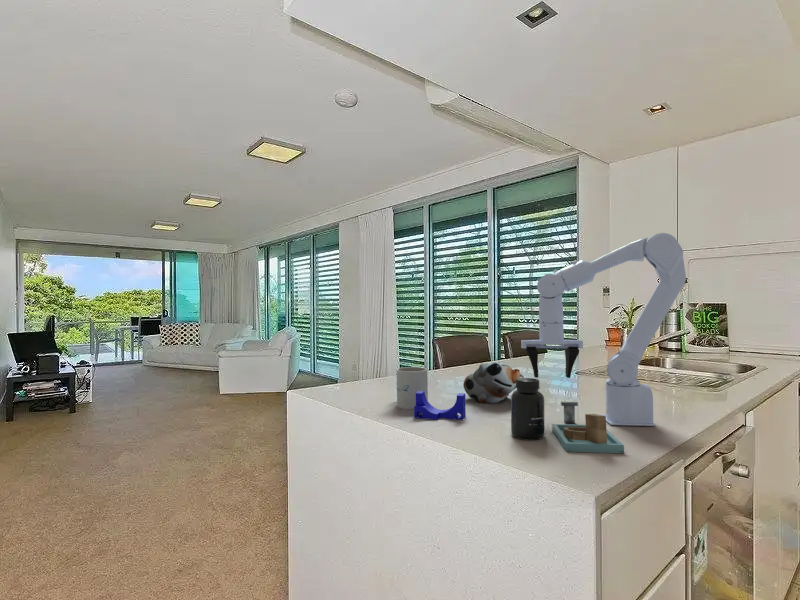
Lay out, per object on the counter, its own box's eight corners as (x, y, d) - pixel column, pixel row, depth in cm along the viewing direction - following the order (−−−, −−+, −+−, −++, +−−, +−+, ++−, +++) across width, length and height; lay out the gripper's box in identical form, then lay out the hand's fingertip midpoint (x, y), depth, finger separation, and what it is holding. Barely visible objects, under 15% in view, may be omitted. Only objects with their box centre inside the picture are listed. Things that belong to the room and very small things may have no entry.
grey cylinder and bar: (576, 421, 106) (575, 401, 106) (578, 424, 103) (578, 403, 103) (560, 421, 106) (560, 400, 106) (562, 423, 104) (562, 403, 104)
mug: (432, 407, 122) (432, 370, 122) (402, 410, 119) (402, 372, 119) (417, 398, 133) (416, 364, 133) (389, 400, 131) (388, 366, 131)
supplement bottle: (540, 443, 90) (539, 383, 90) (507, 438, 94) (506, 380, 94) (548, 434, 96) (547, 378, 96) (517, 429, 100) (516, 375, 100)
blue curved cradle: (414, 418, 111) (413, 394, 111) (419, 414, 115) (419, 390, 115) (462, 422, 107) (461, 397, 107) (465, 417, 111) (465, 393, 112)
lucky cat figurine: (504, 393, 138) (522, 355, 133) (513, 418, 127) (533, 378, 122) (458, 381, 136) (475, 342, 131) (463, 405, 125) (481, 364, 120)
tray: (602, 432, 97) (602, 425, 97) (624, 453, 83) (624, 445, 83) (552, 430, 98) (552, 423, 98) (565, 451, 85) (565, 443, 85)
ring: (557, 435, 92) (556, 410, 93) (581, 434, 94) (580, 409, 95) (590, 444, 84) (589, 416, 84) (615, 442, 86) (613, 415, 86)
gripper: (577, 321, 115) (578, 374, 115) (519, 322, 117) (520, 374, 117) (584, 323, 108) (585, 379, 108) (522, 323, 110) (523, 378, 110)
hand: (552, 377), depth 112 cm, fingers open, 7 cm apart
